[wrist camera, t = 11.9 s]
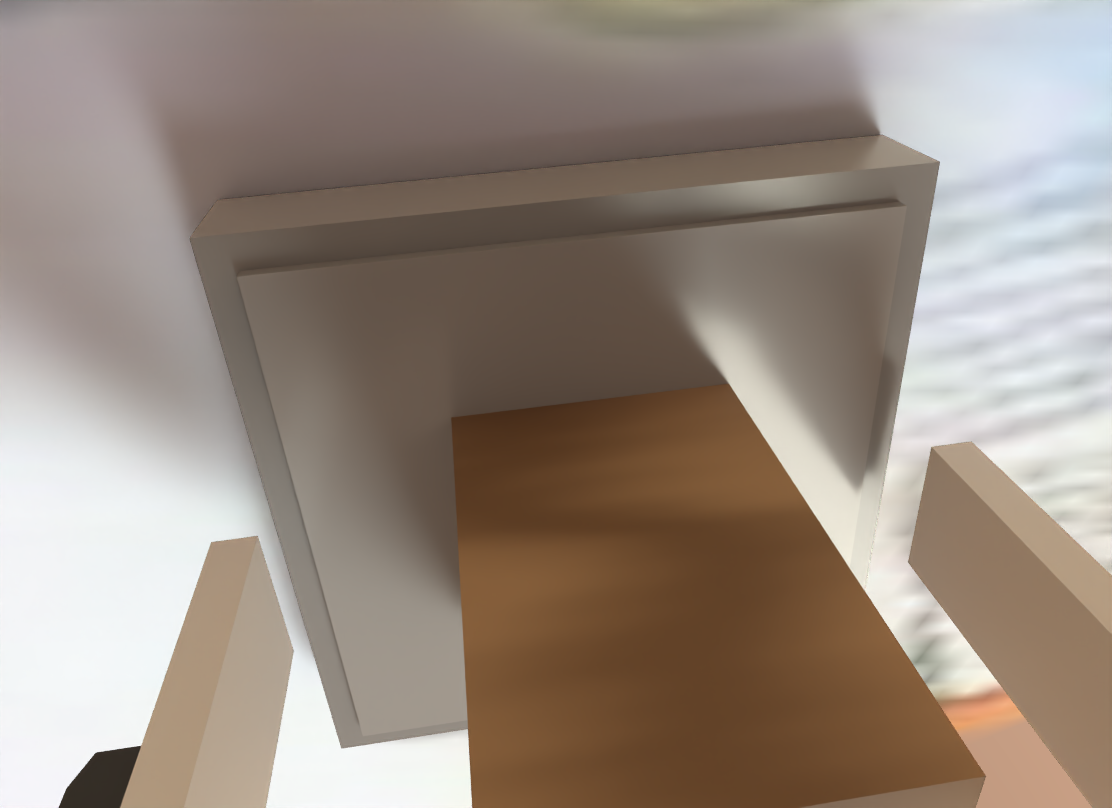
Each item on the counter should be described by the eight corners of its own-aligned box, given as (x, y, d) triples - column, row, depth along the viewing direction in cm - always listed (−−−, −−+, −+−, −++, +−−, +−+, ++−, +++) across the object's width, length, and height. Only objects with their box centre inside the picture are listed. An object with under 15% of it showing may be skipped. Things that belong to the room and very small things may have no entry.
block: (481, 624, 17) (519, 1096, 10) (451, 417, 15) (475, 862, 8) (717, 590, 18) (906, 1021, 11) (728, 383, 15) (986, 775, 8)
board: (348, 679, 20) (340, 757, 19) (217, 199, 14) (185, 243, 12) (817, 609, 22) (856, 677, 20) (882, 134, 15) (948, 165, 13)
